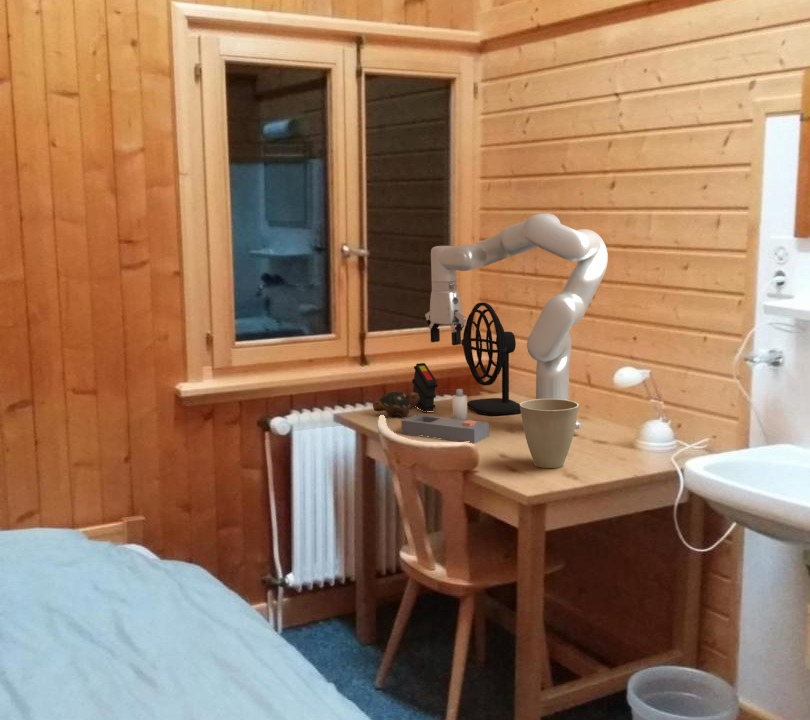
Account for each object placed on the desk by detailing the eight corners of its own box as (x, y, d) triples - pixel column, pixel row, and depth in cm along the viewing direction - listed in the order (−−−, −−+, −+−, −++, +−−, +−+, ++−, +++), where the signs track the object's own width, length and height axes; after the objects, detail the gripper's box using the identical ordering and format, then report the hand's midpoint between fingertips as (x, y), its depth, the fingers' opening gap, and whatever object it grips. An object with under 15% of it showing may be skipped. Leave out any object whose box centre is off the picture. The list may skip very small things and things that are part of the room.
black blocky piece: (418, 399, 327) (425, 362, 319) (432, 423, 318) (440, 385, 309) (407, 400, 326) (414, 363, 318) (422, 424, 316) (429, 386, 308)
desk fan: (452, 403, 328) (451, 299, 322) (500, 399, 333) (500, 296, 327) (482, 420, 302) (481, 307, 296) (534, 415, 307) (534, 305, 302)
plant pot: (589, 463, 253) (590, 403, 250) (556, 476, 242) (556, 413, 239) (541, 453, 263) (542, 395, 260) (508, 465, 252) (507, 405, 249)
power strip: (488, 436, 283) (488, 420, 282) (474, 443, 275) (474, 426, 274) (417, 427, 295) (417, 411, 294) (401, 433, 287) (401, 417, 287)
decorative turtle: (420, 419, 306) (418, 394, 304) (372, 422, 307) (370, 397, 305) (421, 410, 315) (419, 386, 314) (375, 414, 317) (372, 390, 315)
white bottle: (469, 424, 298) (469, 388, 296) (462, 427, 294) (462, 391, 292) (457, 422, 300) (456, 387, 298) (450, 425, 296) (449, 390, 294)
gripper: (473, 287, 290) (474, 344, 293) (435, 284, 303) (436, 339, 306) (454, 289, 285) (455, 347, 288) (416, 286, 299) (418, 342, 301)
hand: (445, 343), depth 297 cm, fingers open, 9 cm apart
